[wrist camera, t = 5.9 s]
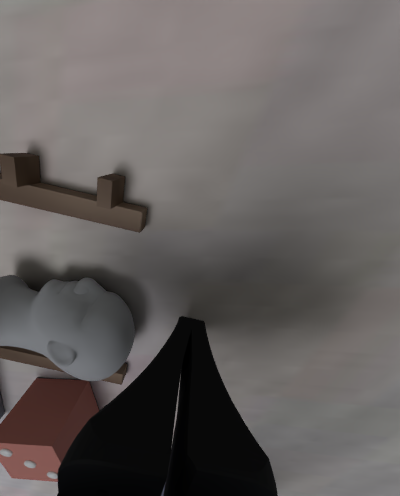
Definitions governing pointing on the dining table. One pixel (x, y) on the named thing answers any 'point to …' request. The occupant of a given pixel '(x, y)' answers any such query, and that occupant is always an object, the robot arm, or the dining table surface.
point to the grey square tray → (1, 408)
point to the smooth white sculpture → (68, 325)
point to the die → (44, 427)
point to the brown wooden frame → (71, 204)
